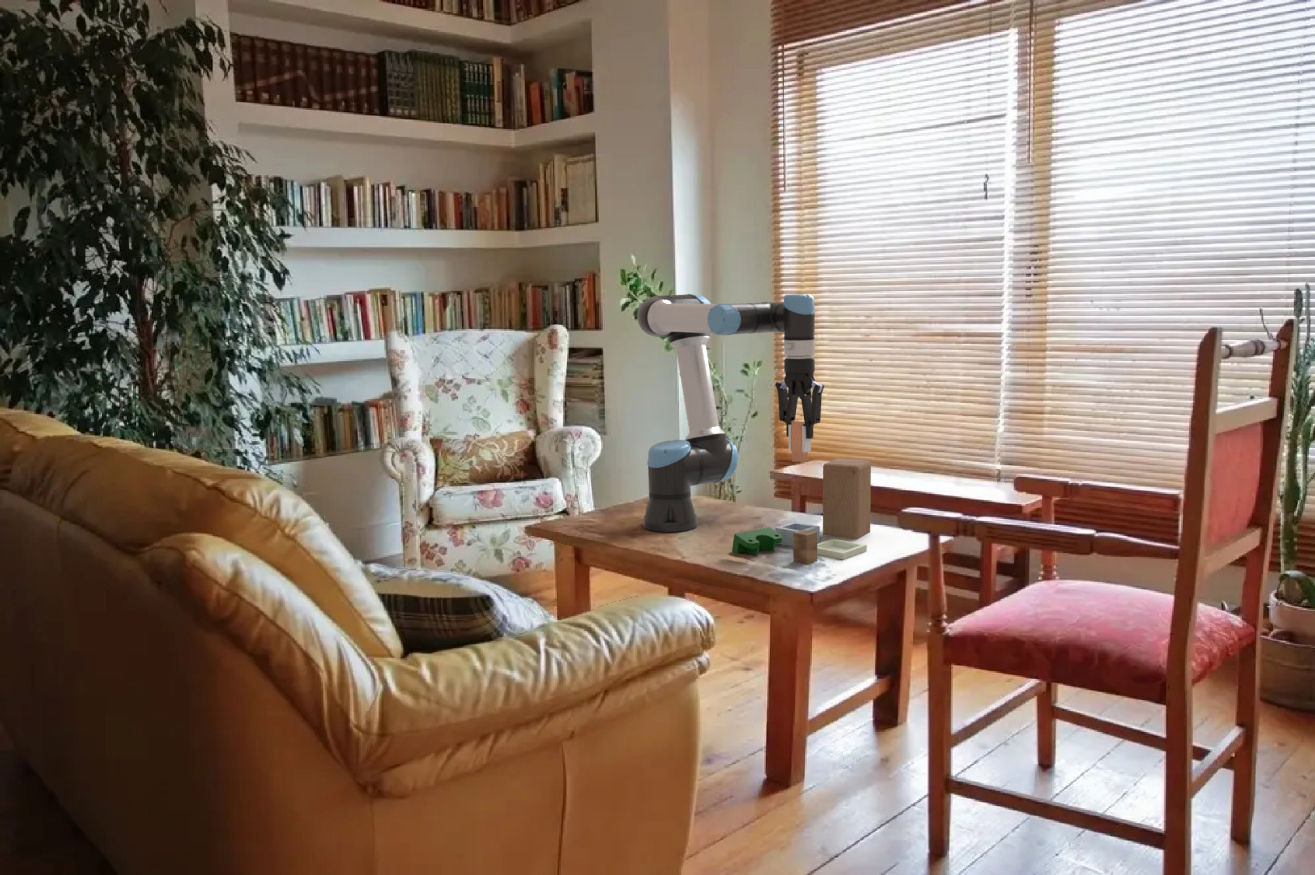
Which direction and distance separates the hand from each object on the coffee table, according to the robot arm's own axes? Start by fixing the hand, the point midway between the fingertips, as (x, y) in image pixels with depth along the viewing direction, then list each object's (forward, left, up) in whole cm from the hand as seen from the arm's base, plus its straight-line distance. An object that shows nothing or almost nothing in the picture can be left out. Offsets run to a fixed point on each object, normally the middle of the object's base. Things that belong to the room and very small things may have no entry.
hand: (799, 450), depth 258 cm
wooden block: (+3, +16, -25) cm, 30 cm away
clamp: (-3, -13, -25) cm, 28 cm away
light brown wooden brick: (+11, -13, -25) cm, 30 cm away
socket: (-1, 0, -25) cm, 25 cm away
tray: (+12, -1, -25) cm, 28 cm away
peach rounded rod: (0, 0, -3) cm, 3 cm away
